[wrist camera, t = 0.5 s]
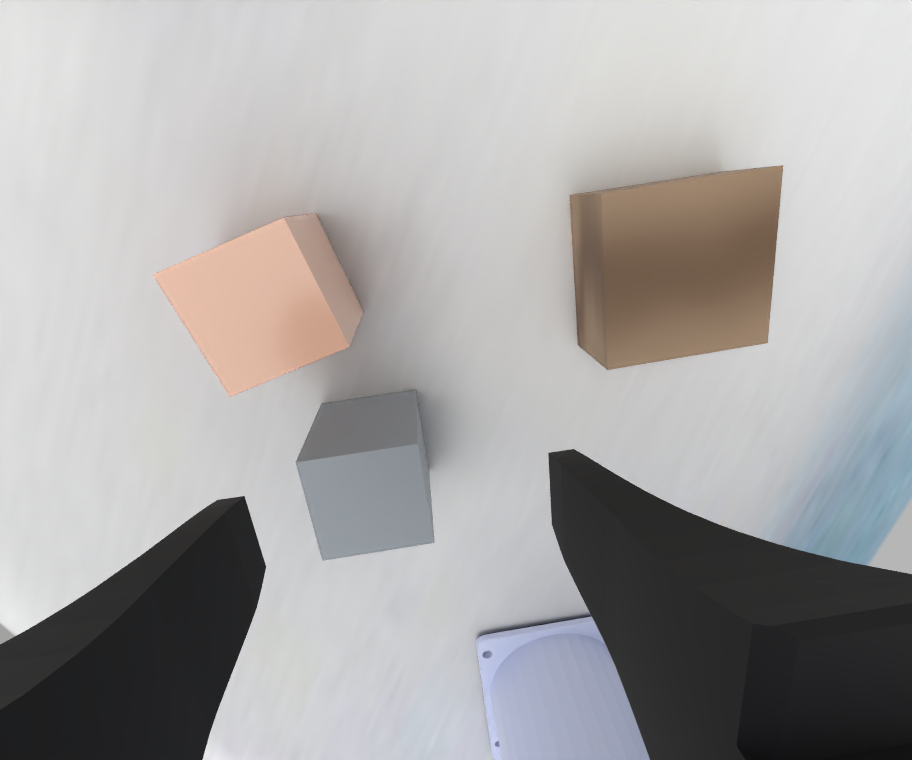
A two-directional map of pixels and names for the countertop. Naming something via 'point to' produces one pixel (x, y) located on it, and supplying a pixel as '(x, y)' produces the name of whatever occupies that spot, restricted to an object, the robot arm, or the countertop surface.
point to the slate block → (367, 476)
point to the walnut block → (675, 265)
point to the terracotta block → (265, 302)
